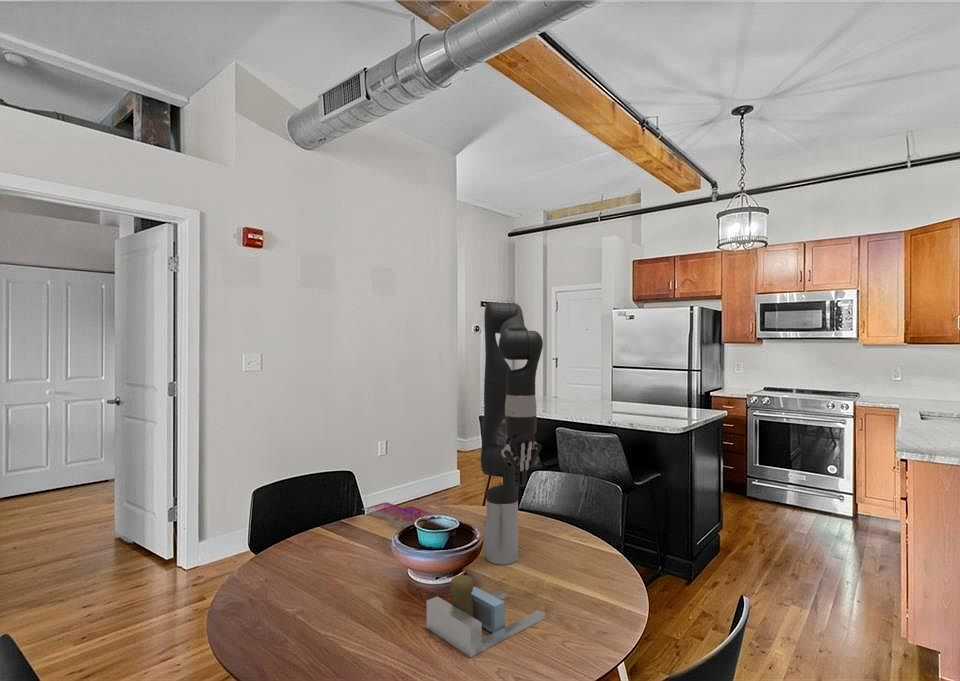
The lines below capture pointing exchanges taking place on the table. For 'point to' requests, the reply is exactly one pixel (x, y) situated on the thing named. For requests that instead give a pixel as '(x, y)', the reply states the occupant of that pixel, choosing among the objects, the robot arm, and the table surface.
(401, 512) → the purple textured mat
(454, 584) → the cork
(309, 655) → the table surface
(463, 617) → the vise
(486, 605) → the free jaw
